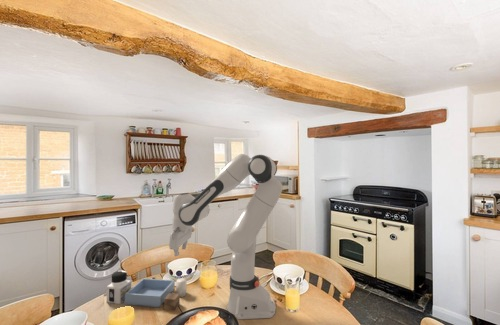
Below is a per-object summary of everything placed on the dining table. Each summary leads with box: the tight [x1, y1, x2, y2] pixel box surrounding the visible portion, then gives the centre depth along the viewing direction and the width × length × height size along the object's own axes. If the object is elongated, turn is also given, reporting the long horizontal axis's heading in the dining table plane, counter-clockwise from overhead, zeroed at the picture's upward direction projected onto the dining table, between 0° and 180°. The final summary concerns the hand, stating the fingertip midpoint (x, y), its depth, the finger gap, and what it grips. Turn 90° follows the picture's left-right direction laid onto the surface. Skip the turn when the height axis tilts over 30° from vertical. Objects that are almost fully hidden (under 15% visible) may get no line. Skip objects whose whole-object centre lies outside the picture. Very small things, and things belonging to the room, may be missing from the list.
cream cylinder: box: [175, 277, 188, 298], centre depth 123 cm, size 5×5×7 cm
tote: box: [124, 278, 176, 308], centre depth 121 cm, size 18×16×5 cm
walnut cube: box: [163, 292, 180, 311], centre depth 112 cm, size 5×5×5 cm
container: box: [106, 270, 132, 305], centre depth 119 cm, size 8×8×13 cm
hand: (180, 252), depth 123 cm, fingers open, 8 cm apart
